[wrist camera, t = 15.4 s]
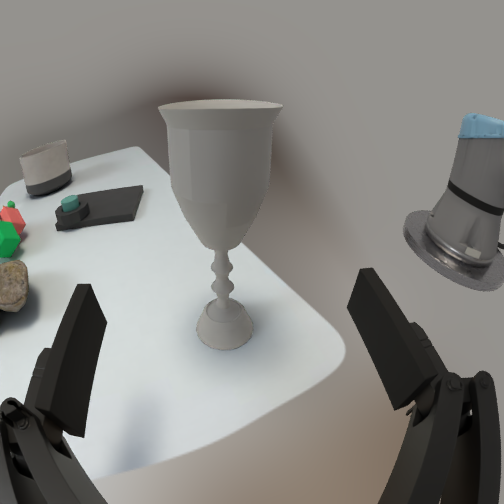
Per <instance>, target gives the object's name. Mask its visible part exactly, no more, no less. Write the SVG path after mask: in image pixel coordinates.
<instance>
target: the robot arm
mask: <svg viewBox="0 0 504 504" xmlns="http://www.w3.org/2000/svg"><path fill="white" fill-rule="evenodd" d="M458 138H459V141H458V146H457V151H456V155H455V159H454V163H453V167H452V171H451V174H450V178H449V182H448V186H447V189H446V191H445V193H444V194H443V196H442V197H441V199H440V200H439V201H438V203H437V204H436V205H435V207H434V208H433V210H432V211H431V212H430V214H429V216H428V218H427V221H426V224H425V230H426V233H427V234H428V236H429V237H430V238H431V240H432V241H433V242H434V243H435V244H436V245H437V246H438V247H440V248H441V249H442V250H443V251H445V252H446V253H448V254H449V255H451V256H452V257H454V258H456V259H458V260H460V261H462V262H464V263H466V264H469V265H472V266H476V267H488V266H490V265H491V264H492V262H493V260H494V258H495V256H496V252H497V247H499V248H501V249H504V244H501V243H499V242H498V240H499V231H500V222H501V218H502V215H503V212H504V121H502V120H499V119H496V118H492V117H489V116H485V115H480V114H475V113H469V114H467V115H465V116H464V118H463V121H462V125H461V130H460V134H459V135H458ZM347 309H348V311H349V313H350V315H351V317H352V319H353V321H354V323H355V324H356V327H357V329H358V331H359V333H360V335H361V337H362V339H363V341H364V343H365V346H366V348H367V350H368V352H369V354H370V356H371V358H372V361H373V363H374V365H375V367H376V369H377V371H378V374H379V376H380V378H381V380H382V383H383V385H384V387H385V390H386V392H387V394H388V396H389V399H390V401H391V404H392V406H393V408H394V410H397V409H400V408H402V407H405V406H407V405H409V404H410V403H411V402H412V401H413V400H415V402H416V404H415V405H414V406H413V407H412V408H411V409H410V410H408V411H407V413H406V415H407V416H408V415H409V414H410V413H411V412H412V415H411V418H410V421H409V425H408V428H407V431H406V435H405V438H404V441H403V444H402V447H401V450H400V452H399V455H398V458H397V461H396V463H395V466H394V469H393V471H392V473H391V476H390V478H389V480H388V483H387V485H386V487H385V490H384V492H383V494H382V496H381V498H380V500H379V502H378V504H439V501H440V498H441V503H440V504H498V502H499V493H500V478H501V439H500V424H499V414H498V406H497V398H496V392H495V386H494V381H493V378H492V377H491V375H490V374H489V373H488V372H486V371H479V372H478V373H477V374H476V375H475V376H474V377H472V378H460V376H459V375H457V374H455V373H451V372H448V370H447V369H446V367H445V365H444V363H443V362H442V360H441V358H440V356H439V355H438V353H437V352H436V350H435V348H434V346H432V343H431V341H430V340H429V339H428V336H427V335H426V333H425V332H424V330H423V329H422V328H421V327H420V326H419V325H418V324H417V323H415V322H413V323H409V322H408V320H407V319H406V317H405V315H404V314H403V312H402V311H401V309H400V308H399V306H398V305H397V303H396V302H395V300H394V298H393V297H392V295H391V294H390V292H389V291H388V289H387V288H386V286H385V285H384V283H383V282H382V280H381V279H380V278H379V276H378V275H377V273H376V272H375V270H374V269H373V268H363V269H360V270H359V274H358V277H357V280H356V283H355V286H354V288H353V291H352V294H351V297H350V300H349V303H348V305H347ZM106 325H107V321H106V319H105V316H104V314H103V312H102V310H101V308H100V305H99V303H98V301H97V298H96V296H95V294H94V291H93V289H92V286H91V284H77V286H76V288H75V290H74V293H73V295H72V297H71V299H70V302H69V304H68V306H67V309H66V311H65V314H64V316H63V318H62V321H61V323H60V326H59V329H58V331H57V334H56V337H55V339H54V342H53V345H52V348H44V350H43V351H42V352H41V354H40V355H39V356H38V359H37V362H36V365H35V368H34V371H33V374H32V375H33V376H32V377H31V381H30V384H29V388H28V391H27V395H26V398H25V402H24V405H23V404H22V403H20V402H19V401H18V400H17V399H15V398H12V397H10V398H7V399H5V400H4V401H3V402H2V404H1V406H0V504H108V503H107V502H106V501H105V499H104V498H103V497H102V495H101V494H100V493H99V491H98V490H97V489H96V487H95V486H94V484H93V483H92V482H91V480H90V479H89V477H88V476H87V474H86V473H85V471H84V470H83V468H82V467H81V465H80V463H79V462H78V460H77V458H76V457H75V455H74V453H73V452H72V450H71V448H70V447H69V445H68V443H67V441H66V439H65V438H64V437H63V435H62V434H63V430H64V431H65V432H66V433H68V434H69V435H73V436H78V437H82V438H84V436H85V428H86V420H87V414H88V407H89V401H90V396H91V390H92V385H93V380H94V375H95V370H96V366H97V361H98V357H99V353H100V348H101V344H102V340H103V337H104V333H105V329H106ZM471 409H472V415H470V410H471ZM441 495H442V496H441Z"/></svg>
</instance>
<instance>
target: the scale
mask: <svg viewBox="0 0 504 504" xmlns="http://www.w3.org/2000/svg"><path fill="white" fill-rule="evenodd" d="M142 193H143V185H140V186H132V187H124V188H117V189H111V190H104V191H98V192H92V193H86V194H80V195H77V197H78V201H79V205H80V206H79V207H78V208H76V209H74V210H72V211H68V212H64V211H63V208H62V205H61V206H59V207H58V208H57V210H56V211H55V214H56V217H57V223H56V224H55V226H56V229H57V231H60V230H66V229H73V228H80V227H87V226H94V225H101V224H109V223H117V222H125V221H133V220H134V218H135V214H136V211H137V208H138V205H139V202H140V199H141V196H142Z"/></svg>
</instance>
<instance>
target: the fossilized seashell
mask: <svg viewBox="0 0 504 504" xmlns="http://www.w3.org/2000/svg"><path fill="white" fill-rule="evenodd" d="M28 292H29V282H28V271H27V267H26V265H25V264H24V263H23V262H22V261H20V260H14V261H10V262H6V263H2V264H0V309H2V310H4V311H10V312H18V311H19V310H20V309H21V308H22V307H23V306H24V305H25V303H26V300H27V296H28Z"/></svg>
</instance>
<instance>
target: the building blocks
mask: <svg viewBox="0 0 504 504" xmlns="http://www.w3.org/2000/svg"><path fill="white" fill-rule="evenodd" d="M25 225H26V224H25V222H24V220H23V218H22V216H21V214H20V213H19V211H18V209H15V203H14V202H12V201H9V202H8V207H7V206H6V207H5V206H3V209H2V211H1V212H0V258H9V257H11V256H12V254H13V253H14V251H15V249H16V247H17V246H18V244H19V242H20V240H21V239H20V237H19V235H20V234H21V232H22V230H23V229H24V227H25Z"/></svg>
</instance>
